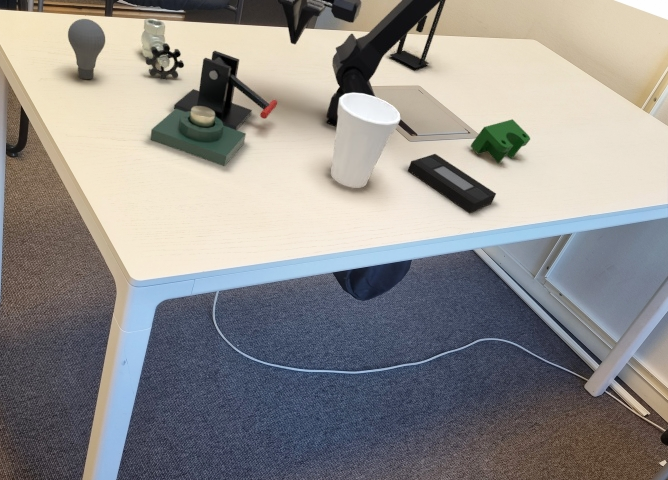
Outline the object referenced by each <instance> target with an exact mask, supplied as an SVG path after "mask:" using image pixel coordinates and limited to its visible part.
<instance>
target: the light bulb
mask: <svg viewBox="0 0 668 480" xmlns="http://www.w3.org/2000/svg"><path fill="white" fill-rule="evenodd" d="M67 39H68V42H69V44H70V47H71V49H72V50H73V52H74V55H75V59H76V60H75V61H76V65H77V75H78V77H79V78H81V79H82V80H91V79H93V78H94V71H95V68H96V64H97V59H98V57H99V54H100V53H101V52H102V51H103V49H104V47H105V45H106V35H105V32H104V29H103V27H101V26H100V25H99V24H98V23H97V22H95V21H93V19H92V20H91V19H88V18H80V19H76V20H75V21H74V22H72V24H70V26H69V28H68V30H67Z"/></svg>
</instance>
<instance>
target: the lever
mask: <svg viewBox="0 0 668 480" xmlns="http://www.w3.org/2000/svg"><path fill="white" fill-rule="evenodd" d="M214 61H217V62H220V63H222V64H225V65H228V66H230V65H229V64H227V63H226V62H225V61H224V60H222V59H221V58H220V57H218V58H217V59H216V60H214ZM231 70H232V67H231ZM230 72H231V71H230ZM229 82H230V83H231V84H232V85H233V86H235V88H236V89H237V90H238V91H240V92H241V93H242V94H243V95H244V96H246V97H247V98H248V99H249V100H251V101H252V102H253V103H255V104H256V105H257V106H258V107H259V108H261V109H262V111H261V112H260V114H259V116H260V119H265V120H266V119H267V118H268V117H269V116H270V114H271V113H272V112H273V111H274V110H275V109H276V107H277V106H278V101H277V99H271V100H270V101H269V102H267V101H266V100H265V99H264V98H262V97H261V96H260V95H259V94H257V93H256V92H255V91H254V90H252V89H251V87H249V86H248V85H246V84H245V83H244V82H243V81H242V80H240V79H239V78H238V77H235V76H234V75H233V74H231V73H230V77H229Z"/></svg>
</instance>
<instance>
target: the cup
mask: <svg viewBox="0 0 668 480" xmlns="http://www.w3.org/2000/svg"><path fill="white" fill-rule="evenodd" d="M400 113H401V112H399V110H398V109H397V108H396V107H395V106H394V105H392V104H391V103H389V102H388V101H386V100H383V99H381V98H379V97H378V96H375V97H374V96H371V95H367V94H362V93H348V94H344V95H343V96H341V97H340V98H339V104H338V121H337V127H336V129H335V138H334V145H333V152H332V161H331V168H330V176H331V178H332V179H333V180H334V181H336V182H337V183H338V184H339V185H343V186H345V187H348V188H353V189H354V188H355V189H358V188H359V189H360V188H363V187H365V186H366V185H368V181H369V179H370V178H371V175H372V173H373V172H374V169H375V167H376V165H377V163H378V161H379V159H380V157H381V155H382V152H383V151H384V149H385V147H386V144H388V141H389V139H390V137H391V135H392V134H393V133H395V131H396V130H397V129H398V126H399V124H400V122H401V114H400Z"/></svg>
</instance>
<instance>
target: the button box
mask: <svg viewBox="0 0 668 480" xmlns="http://www.w3.org/2000/svg"><path fill="white" fill-rule="evenodd" d="M190 115H191V111H188V112H184V111H181V110H179V109H174V110H172V111H171V112H170V113H168V115H166V116H165V117H164V118H163V119H162V120H161V121H160V122H158V123H157V124H156V125H155V126H154V127H152V128H151V131H150V141H153V142H155V143H159V144H161V145H164V146H167V147H169V148H172V149H175V150H178V151H181V152H184V153H185V154H190V155H192V156H195V157H198V158H201V159H204V160H207V161H209V162H211V163H215V164H217V165H220V166H223V167H225V166H226V165H227V164H228V163H229V162H230V160H232V158H233V157H234V156H235V154H236V153H237V152H238V151H239V150H240V148H241V147H242V146H243V145H244V144H245V140H246V136H247V133H245V132H244V131H240V130H238V129H237V130H235V129H232V128H229V127H226V126H223V123H222V121H221V120H220V119H219V118H217V117H216V116H215V118H214V124H213V127H211V128H201V127H198V126H195V125H193V124H191V123H190Z"/></svg>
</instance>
